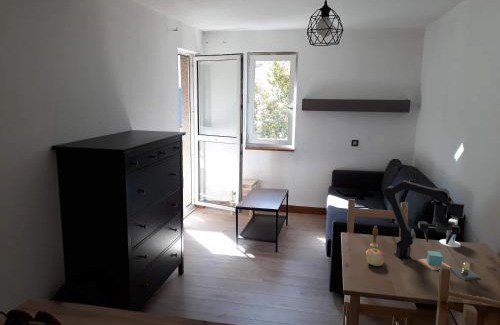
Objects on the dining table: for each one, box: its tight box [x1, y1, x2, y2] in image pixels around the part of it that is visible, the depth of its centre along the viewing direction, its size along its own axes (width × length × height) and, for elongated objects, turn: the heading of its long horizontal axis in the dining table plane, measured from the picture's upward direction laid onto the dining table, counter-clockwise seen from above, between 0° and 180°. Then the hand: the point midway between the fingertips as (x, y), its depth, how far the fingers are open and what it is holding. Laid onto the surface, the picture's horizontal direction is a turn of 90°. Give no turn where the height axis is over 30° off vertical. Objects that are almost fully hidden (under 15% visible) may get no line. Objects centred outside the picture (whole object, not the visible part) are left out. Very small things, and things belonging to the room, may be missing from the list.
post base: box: [450, 261, 481, 281], centre depth 187 cm, size 9×9×6 cm
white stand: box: [438, 216, 462, 248], centre depth 225 cm, size 12×11×15 cm
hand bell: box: [365, 225, 380, 255], centre depth 208 cm, size 8×8×16 cm
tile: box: [417, 258, 452, 271], centre depth 198 cm, size 11×11×1 cm
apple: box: [365, 248, 386, 267], centre depth 195 cm, size 9×9×8 cm
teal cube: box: [426, 250, 444, 266], centre depth 198 cm, size 6×6×5 cm
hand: (436, 242), depth 196 cm, fingers open, 9 cm apart
